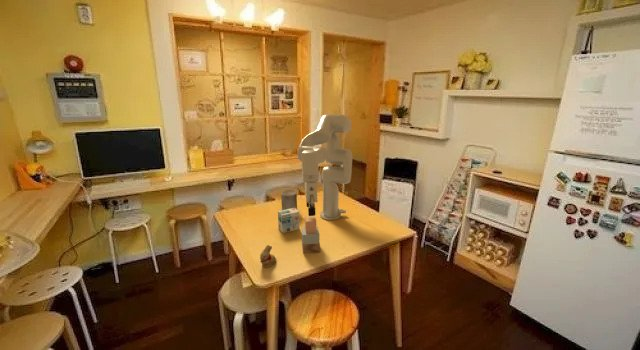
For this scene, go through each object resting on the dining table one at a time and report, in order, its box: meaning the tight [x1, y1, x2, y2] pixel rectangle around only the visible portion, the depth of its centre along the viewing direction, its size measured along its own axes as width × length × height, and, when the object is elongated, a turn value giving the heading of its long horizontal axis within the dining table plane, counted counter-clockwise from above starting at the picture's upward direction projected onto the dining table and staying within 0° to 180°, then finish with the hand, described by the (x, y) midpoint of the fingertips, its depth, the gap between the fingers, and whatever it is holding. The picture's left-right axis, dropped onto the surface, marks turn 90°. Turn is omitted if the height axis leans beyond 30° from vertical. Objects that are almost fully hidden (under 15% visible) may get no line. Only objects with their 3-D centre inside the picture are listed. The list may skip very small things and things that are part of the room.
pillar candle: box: [280, 189, 298, 210], centre depth 180 cm, size 10×10×15 cm
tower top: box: [301, 226, 320, 244], centre depth 139 cm, size 8×8×5 cm
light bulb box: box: [277, 208, 300, 234], centre depth 159 cm, size 11×7×11 cm, turn 118°
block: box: [304, 216, 317, 233], centre depth 138 cm, size 5×5×6 cm
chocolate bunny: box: [259, 244, 277, 269], centre depth 127 cm, size 6×8×10 cm
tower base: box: [301, 241, 321, 254], centre depth 140 cm, size 8×8×5 cm
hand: (310, 211), depth 136 cm, fingers open, 9 cm apart
